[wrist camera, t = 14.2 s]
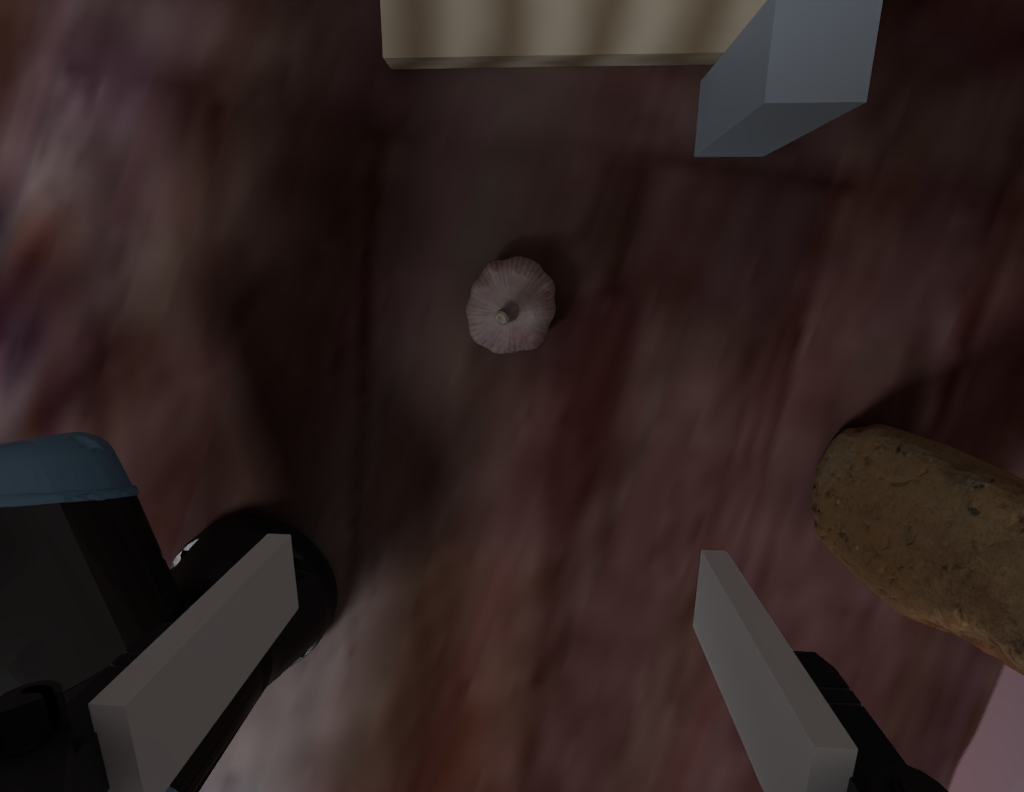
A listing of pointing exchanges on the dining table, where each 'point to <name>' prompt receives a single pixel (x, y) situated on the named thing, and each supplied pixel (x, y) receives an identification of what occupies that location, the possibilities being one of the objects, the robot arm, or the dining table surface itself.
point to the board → (559, 32)
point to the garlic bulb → (511, 305)
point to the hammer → (787, 75)
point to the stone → (928, 533)
